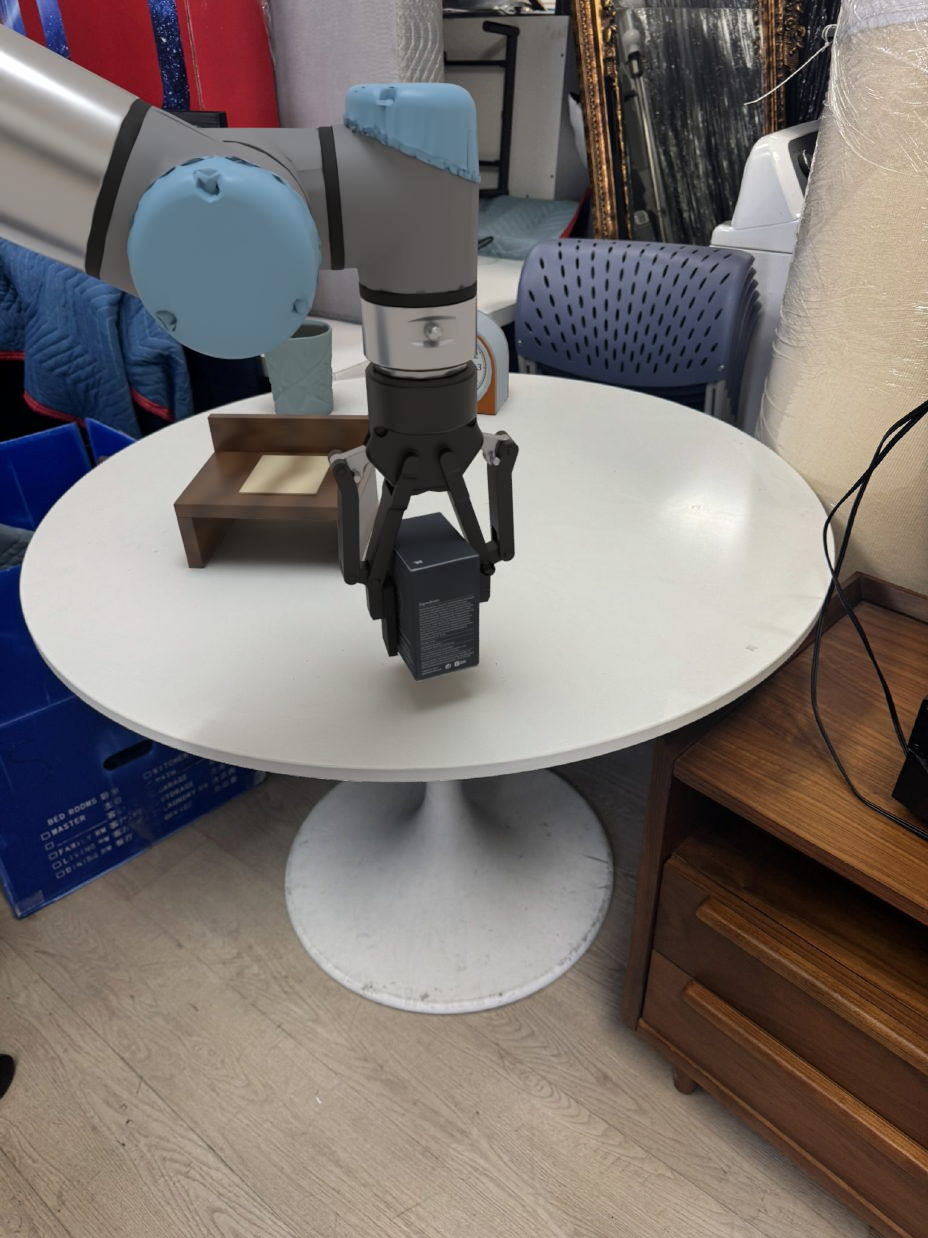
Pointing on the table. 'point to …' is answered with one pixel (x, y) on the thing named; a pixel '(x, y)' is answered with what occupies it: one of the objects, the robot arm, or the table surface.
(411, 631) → the box
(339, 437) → the shelf
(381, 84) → the robot arm
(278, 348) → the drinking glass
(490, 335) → the alarm clock
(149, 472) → the table surface
